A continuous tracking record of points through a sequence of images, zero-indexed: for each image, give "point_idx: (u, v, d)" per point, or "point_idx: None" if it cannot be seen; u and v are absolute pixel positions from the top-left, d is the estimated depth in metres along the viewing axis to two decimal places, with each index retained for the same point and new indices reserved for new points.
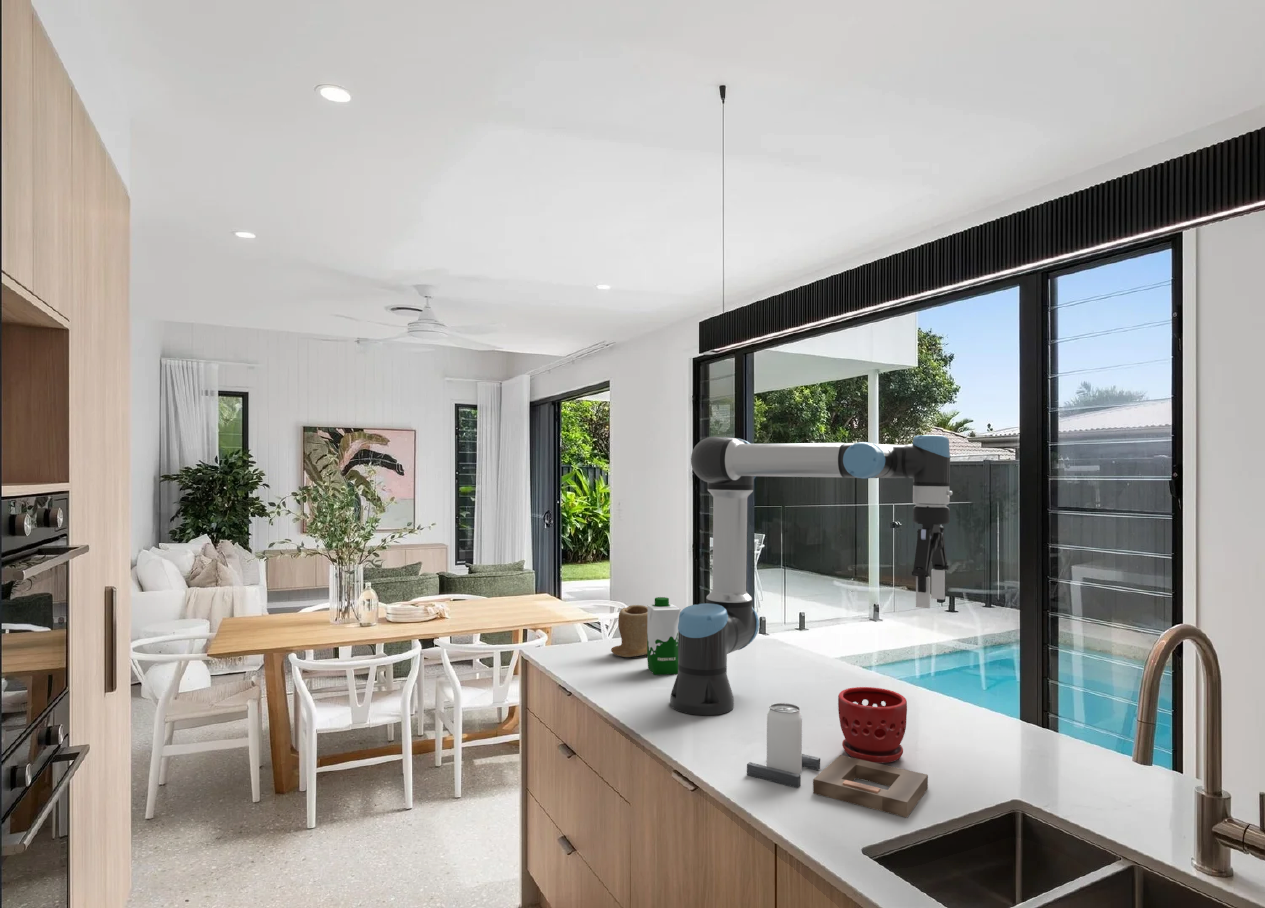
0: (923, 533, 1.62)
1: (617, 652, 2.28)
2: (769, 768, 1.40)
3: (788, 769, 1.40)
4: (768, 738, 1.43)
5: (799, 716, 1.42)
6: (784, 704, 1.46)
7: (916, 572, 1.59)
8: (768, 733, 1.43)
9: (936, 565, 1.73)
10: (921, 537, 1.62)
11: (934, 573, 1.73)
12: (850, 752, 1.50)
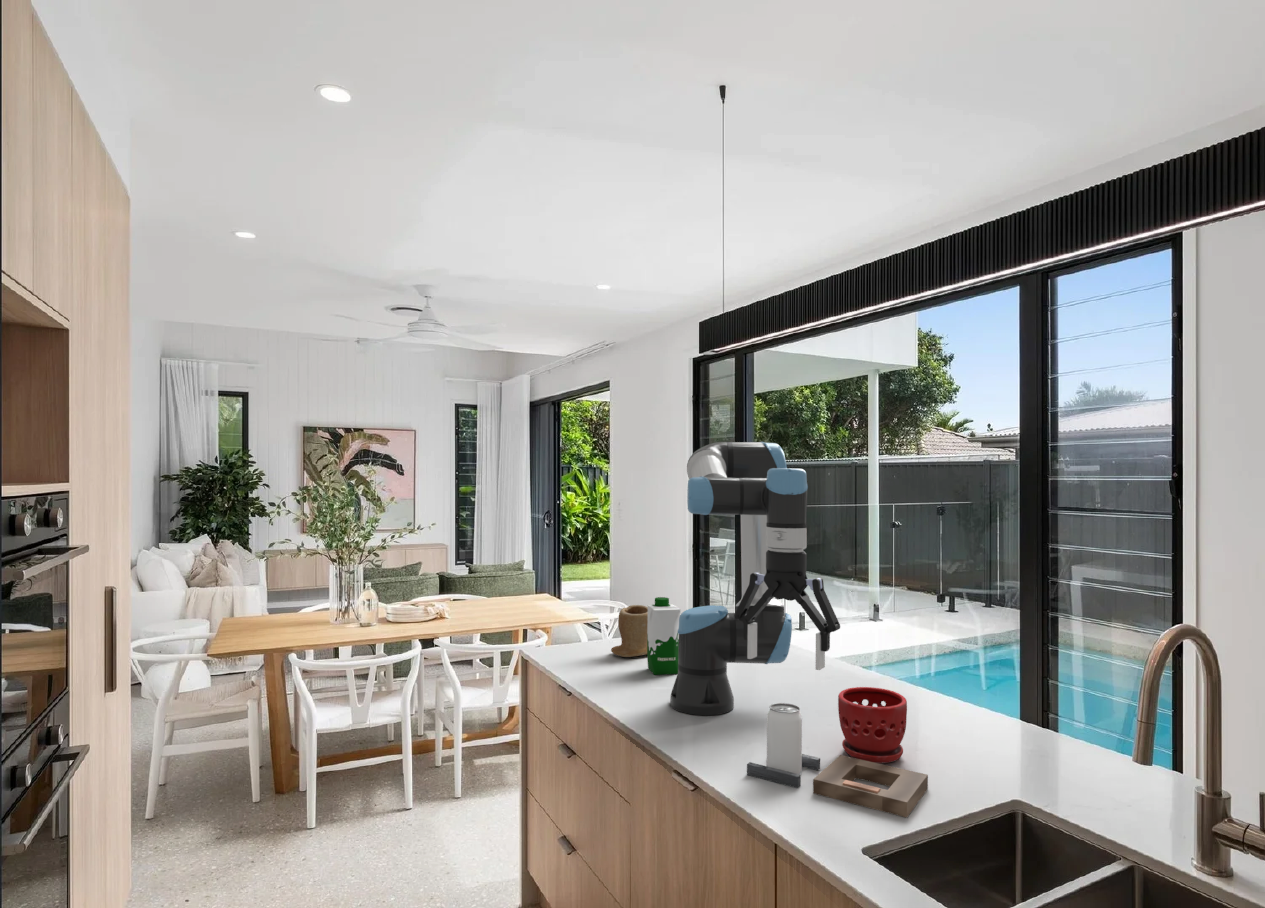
0: None
1: (617, 652, 2.28)
2: (769, 768, 1.40)
3: (788, 769, 1.40)
4: (768, 738, 1.43)
5: (799, 716, 1.42)
6: (784, 704, 1.46)
7: None
8: (768, 733, 1.43)
9: None
10: None
11: None
12: (850, 752, 1.50)
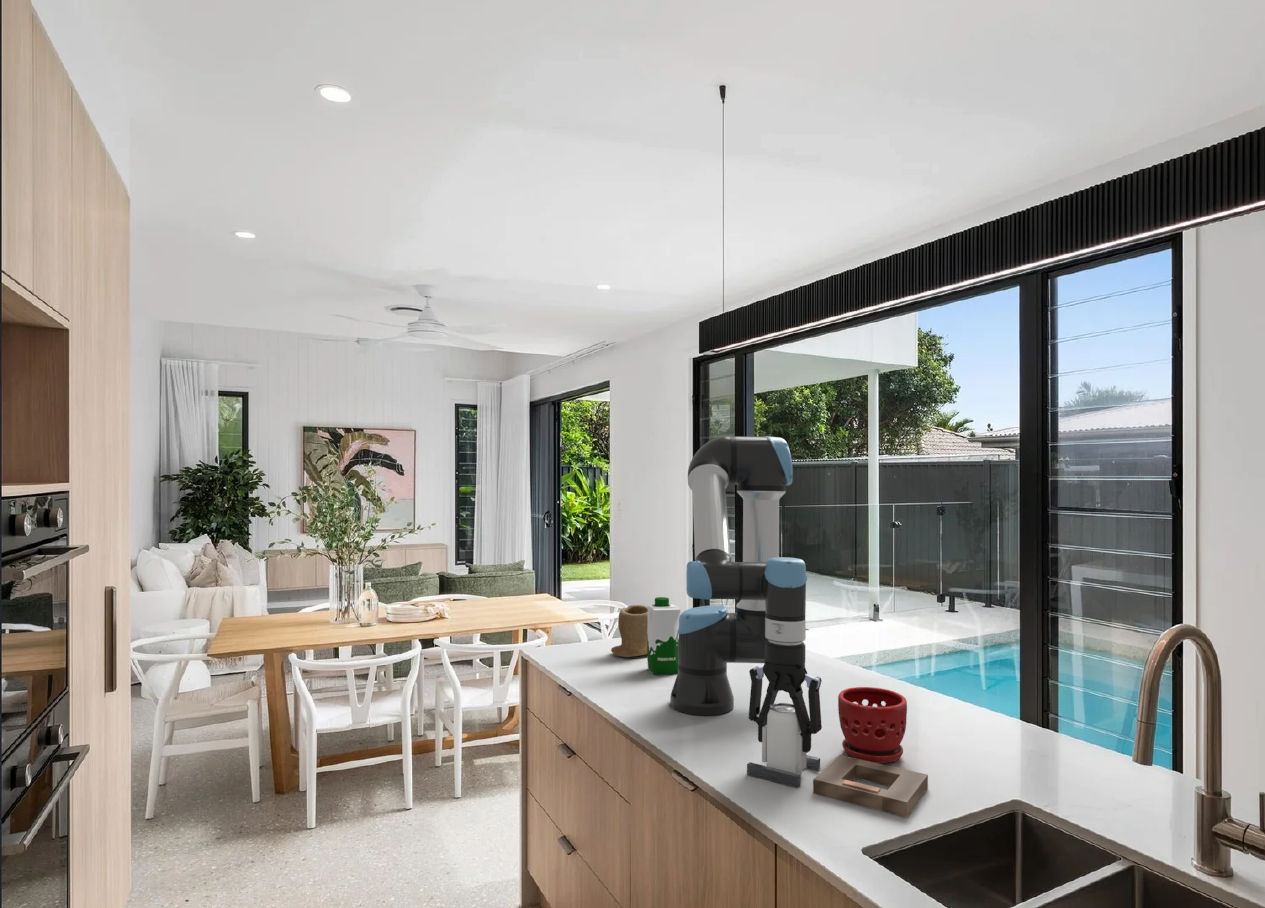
0: None
1: (617, 652, 2.28)
2: (769, 768, 1.40)
3: (789, 769, 1.40)
4: (768, 738, 1.43)
5: None
6: (784, 704, 1.46)
7: None
8: (768, 733, 1.43)
9: None
10: None
11: None
12: (850, 752, 1.50)
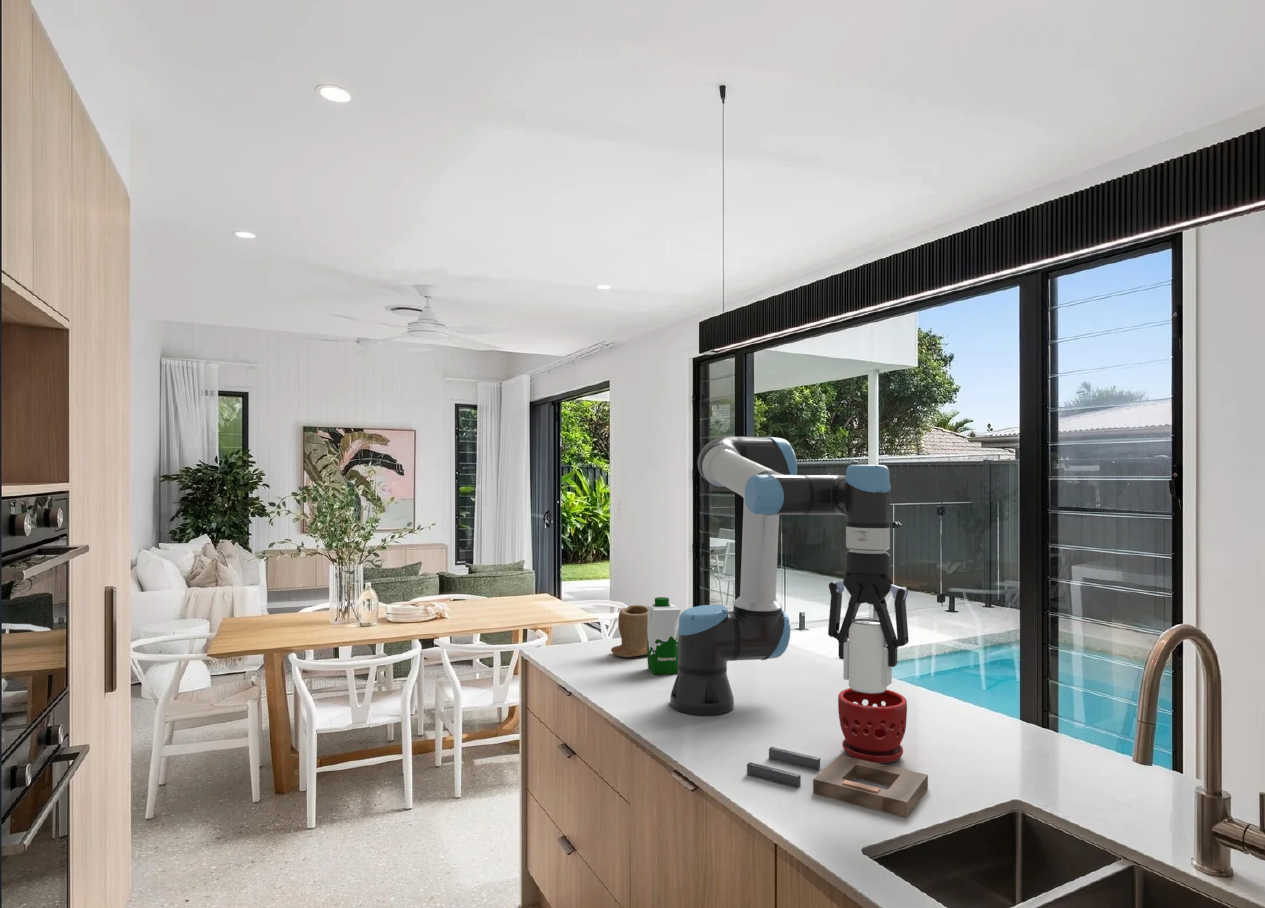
0: None
1: (617, 652, 2.28)
2: (769, 768, 1.40)
3: (874, 684, 1.33)
4: (851, 653, 1.35)
5: None
6: (865, 620, 1.39)
7: None
8: (851, 648, 1.35)
9: None
10: None
11: None
12: (850, 752, 1.50)
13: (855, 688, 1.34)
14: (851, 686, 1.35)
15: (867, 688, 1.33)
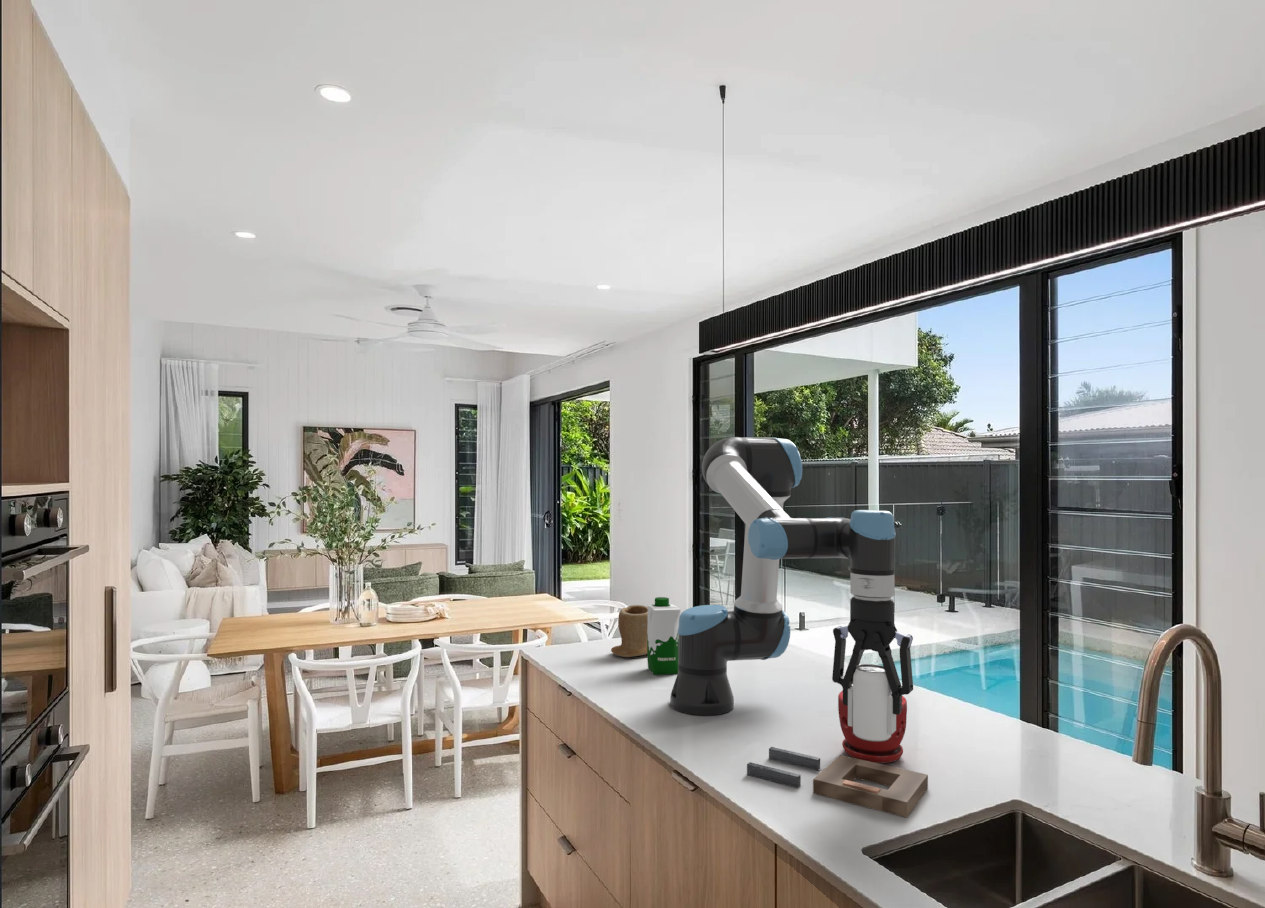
0: None
1: (617, 652, 2.28)
2: (769, 768, 1.40)
3: (879, 732, 1.32)
4: (855, 700, 1.35)
5: None
6: (870, 665, 1.38)
7: None
8: (855, 695, 1.35)
9: None
10: None
11: None
12: (850, 752, 1.50)
13: (860, 735, 1.34)
14: (856, 733, 1.35)
15: (871, 736, 1.32)
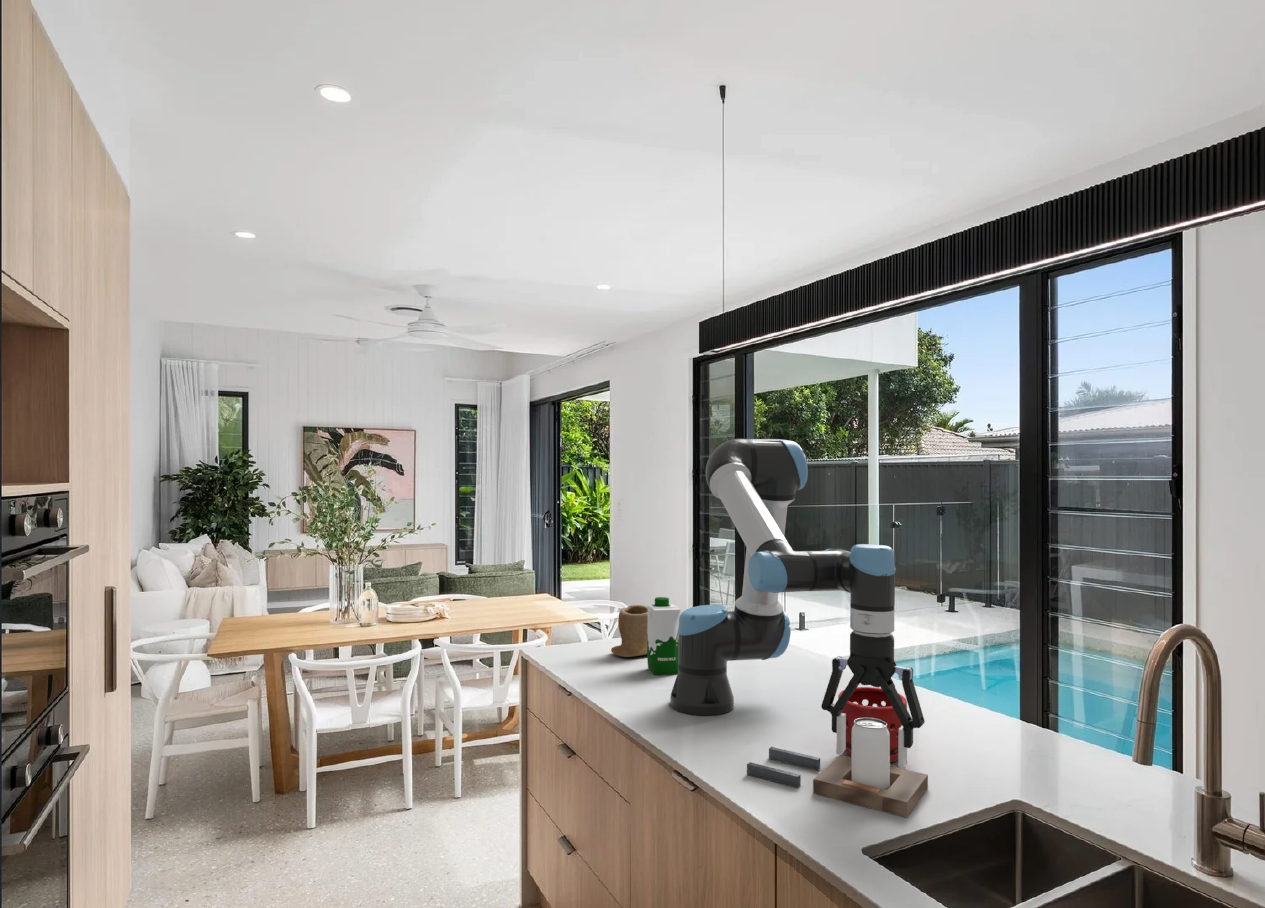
0: None
1: (617, 652, 2.28)
2: (769, 768, 1.40)
3: None
4: (854, 755, 1.35)
5: (887, 732, 1.34)
6: (868, 719, 1.38)
7: None
8: (854, 750, 1.35)
9: None
10: None
11: None
12: (850, 752, 1.50)
13: None
14: None
15: None
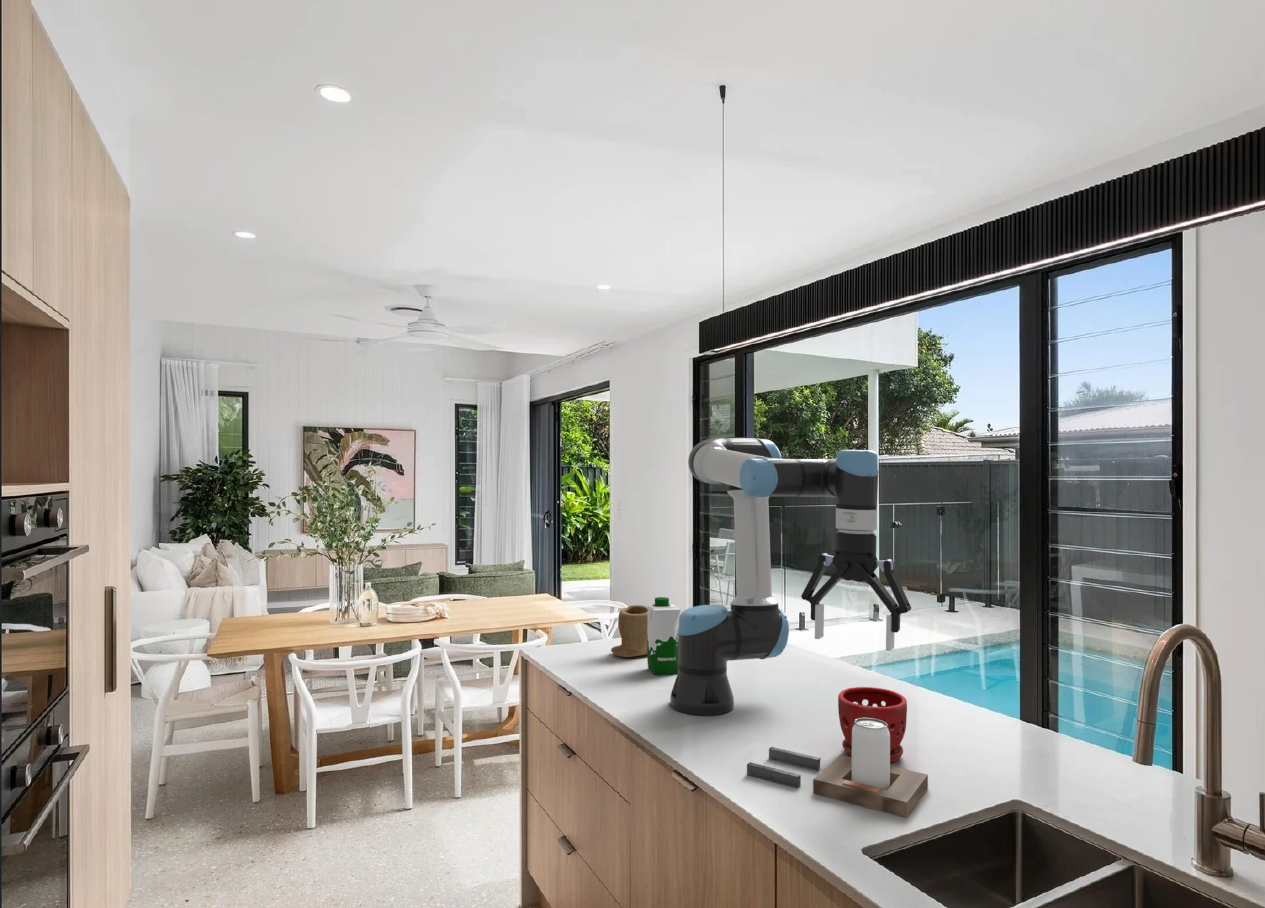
0: None
1: (617, 652, 2.28)
2: (769, 768, 1.40)
3: None
4: (854, 755, 1.35)
5: (887, 732, 1.34)
6: (869, 719, 1.38)
7: None
8: (854, 750, 1.35)
9: None
10: None
11: None
12: (850, 752, 1.50)
13: None
14: None
15: None
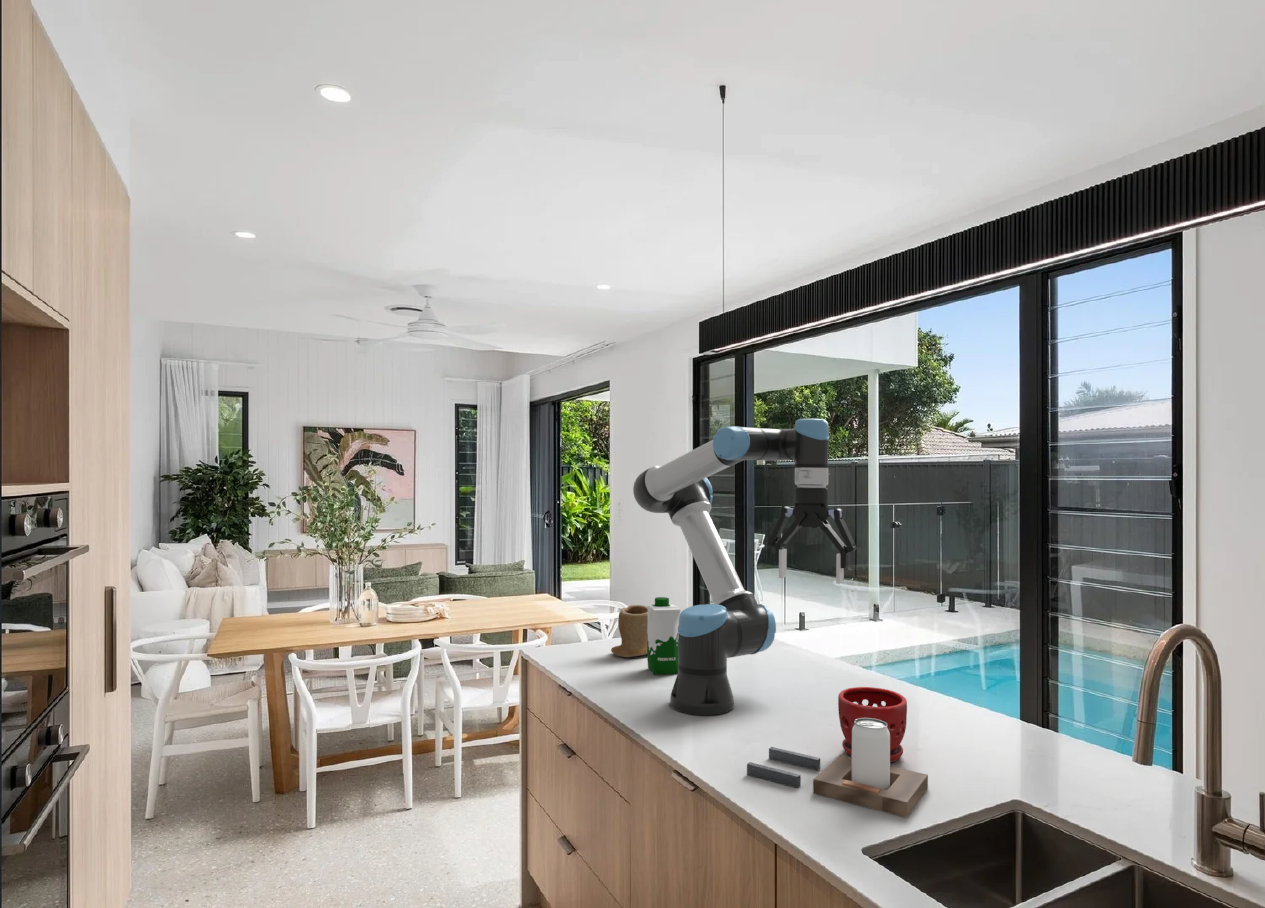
0: None
1: (617, 652, 2.28)
2: (769, 768, 1.40)
3: None
4: (854, 755, 1.35)
5: (887, 732, 1.34)
6: (869, 719, 1.38)
7: None
8: (854, 750, 1.35)
9: None
10: None
11: None
12: (850, 752, 1.50)
13: None
14: None
15: None
